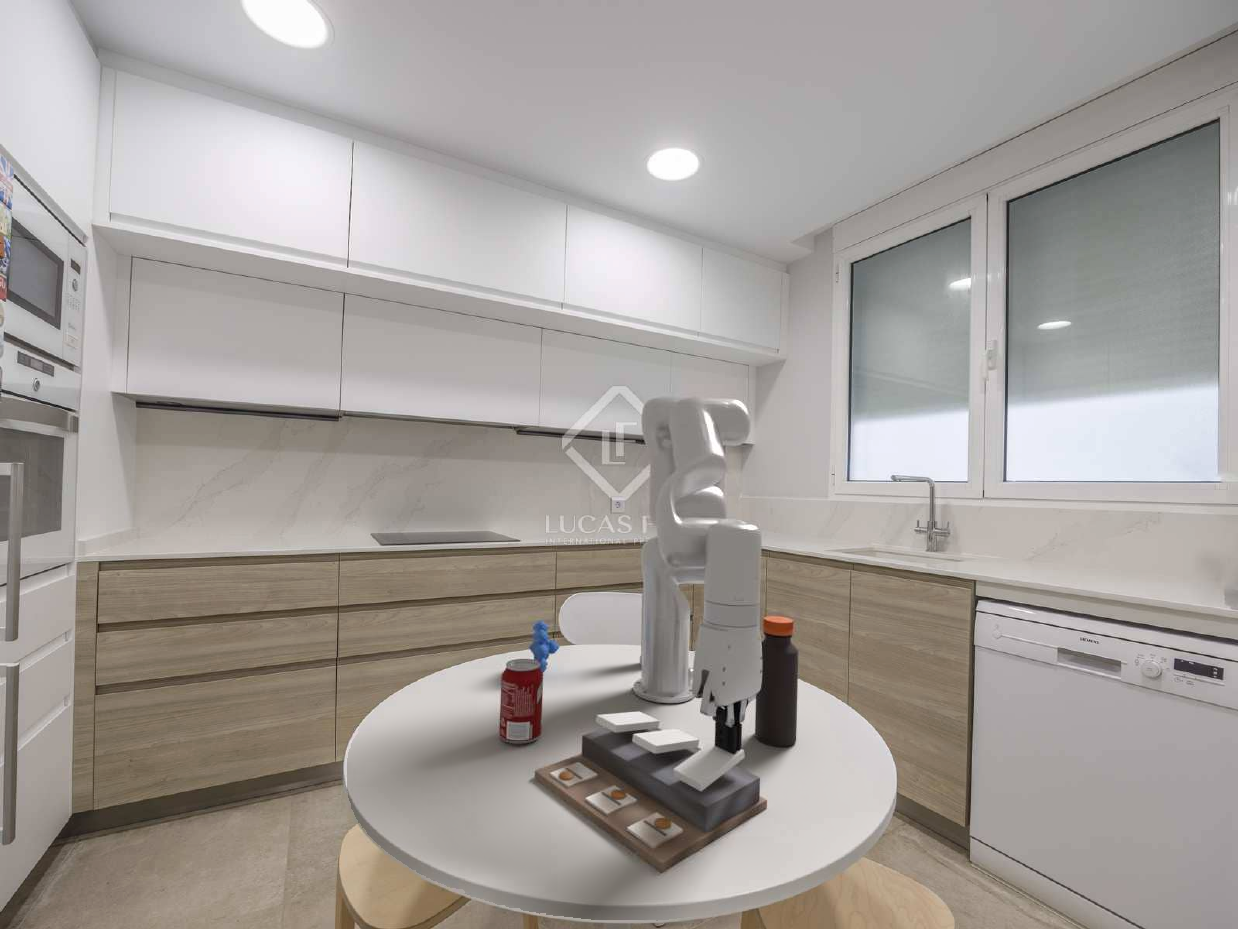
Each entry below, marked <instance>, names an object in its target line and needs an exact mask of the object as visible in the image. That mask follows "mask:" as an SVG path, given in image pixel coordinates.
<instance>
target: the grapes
mask: <svg viewBox="0 0 1238 929" xmlns="http://www.w3.org/2000/svg"><path fill="white" fill-rule="evenodd" d="M549 628H550V627H549V626H548V624H547V623H546V622H545V621H544V620H540V621H537V622H536V623H535V624H534V625H533V627H532V629H533V631H534V633H533V635H532V636H531V638H532V640H533V642H531V644H530V645H529V647H528V649H529V650H530V652H531V653H532V655H533V660H536V661H538V662H539V663H540V666H539V668H540V669H541V671H542V672H543V674H544V673H545V671H546V670H547V669H548V667H547V666H548V664H549V663H548V662H547V660H548V659H549V657H550V655H554V654H555V653H557V651H559V650H560V645H559V644H558V642H557V641H556V640H554V639H552V640H550V636H549V634H548V633H547V631H548V630H549Z"/></svg>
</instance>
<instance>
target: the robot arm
mask: <svg viewBox="0 0 1238 929" xmlns="http://www.w3.org/2000/svg"><path fill="white" fill-rule="evenodd" d="M641 413H642V414H641V431H642V436H643V440H644V443H645V444H644V445H645V446H646V451H647V453H648V458H649V467H650V468H649V500H648V501H649V502H648V503H649V506H648V507H649V508H648V509H649V518H650V522H651V524H652V525H653V526H655V527H656V533H657V535H656V536H655V537H652V538H650V539H647V540H646V541H645V542H644V543H643V545H642V547H641V551H640V562H641V563H640V564H641V572H642V582H643V592H644V611H643V614H644V616H643V646H642V666H641V676H640V677H641V678H639V679H637V680H636V681H635V682H634V683H633V686H632V688H633V692H634V694H635V695H636V696H637V697H639V698H641V699H644V700H646V701H650V702H654V703H660V704H679V703H684V702H687V701H690V700H691V699H694V698H696V699H701V701H700V707H699V712H700V714H702V715H705V716H708V717H712V721H714V722H715V724H714V740H715V746H716V747H719V748H721V749H723V750H725V751H727V752H729V753H731V754H733V755H734V754H736V751H738V750H741V749H742V746H743V745H742V744H743V742H742V740H743V739H742V737H743V723H744V721H745V720H746V719H745V718H746V712H747V708H748V706H749V704H750V703H751V702H752V701H754V700H756V694H757V693H758V692H759V691H760V689H761V684H762V645H761V642H762V637H761V628H760V620H761V618H760V616H761V614H760V613H761V581H762V580H761V570H762V532H761V530H760V528H758V527H757V526H756V525H754V524H750V523H746V521H743V520H740V519H737V518H734V519H733V518H728V505H727V501H726V500H727V499H726V497H725V494H724V492H723V491H722V490H721V489H720V488H719V487H717V486H716V484H718V483H719V482H720V481H721V480H722V479H723V478H724V476H725V475H726V473H727V470H728V462H727V458H726V455H725V454H726V453H725V450H724V446H733V447H734V446H735V447H736V446H737V447H738V446H740V445H742V444H744V443H745V442H747V439H748V438H749V435H750V431H751V418H750V414H749V411H748V409H747V407H746V406H745V404H744V403H743V402H742V401H740V400H738V399H735V398H720V397H703V396H699V397H698V396H690V397H689V396H687V397H685V396H659V397H654V398H651V399H649V400H647V401H646V402H645V403H644V404H643V408H642V411H641ZM686 584H690V585H691V584H695V585H697V584H698V585H700V584H703V585H704V588H703V589H704V590H703V617H702V618H703V621H702V622H703V623H701V624H700V625H699V629H698V633H697V638H696V642H695V643H696V644H695V649H694V657H693V658H694V659H693V665H692V666H693V667H690V666H689V662H690V660H689V659H690V630H691V629H690V627H691V625H690V624H691V606H690V603H689V601H688V598H687V597H686V595H684V593H683V592H682V591H681V589H680V587H679V585H686Z"/></svg>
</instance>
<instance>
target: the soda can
mask: <svg viewBox="0 0 1238 929" xmlns="http://www.w3.org/2000/svg"><path fill="white" fill-rule="evenodd" d="M533 659H534V658H533ZM533 659H531V658H516V659H511V660H508V661H507V662H506V663H505V669H504V671H503V672H502V674H501V678H500V679H501V680H500V681H501V684H500V707H499V708H500V709H499V726H498V727H499V728H498V729H499V732H498V735H499V738H500V739H502V741H504V742H506V743H508V744H511V745H516V746H520V745H526V744H530V743H532V742H534V741H535V740H537V739H539V737H540V736H541V734H542V718H543V717H542V716H543V715H542V713H543V691H544V690H543V689H544V673H543V672H542V671H541V669H540V668H539V666H540V663H539V662H538V661H536V660H533Z"/></svg>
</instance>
